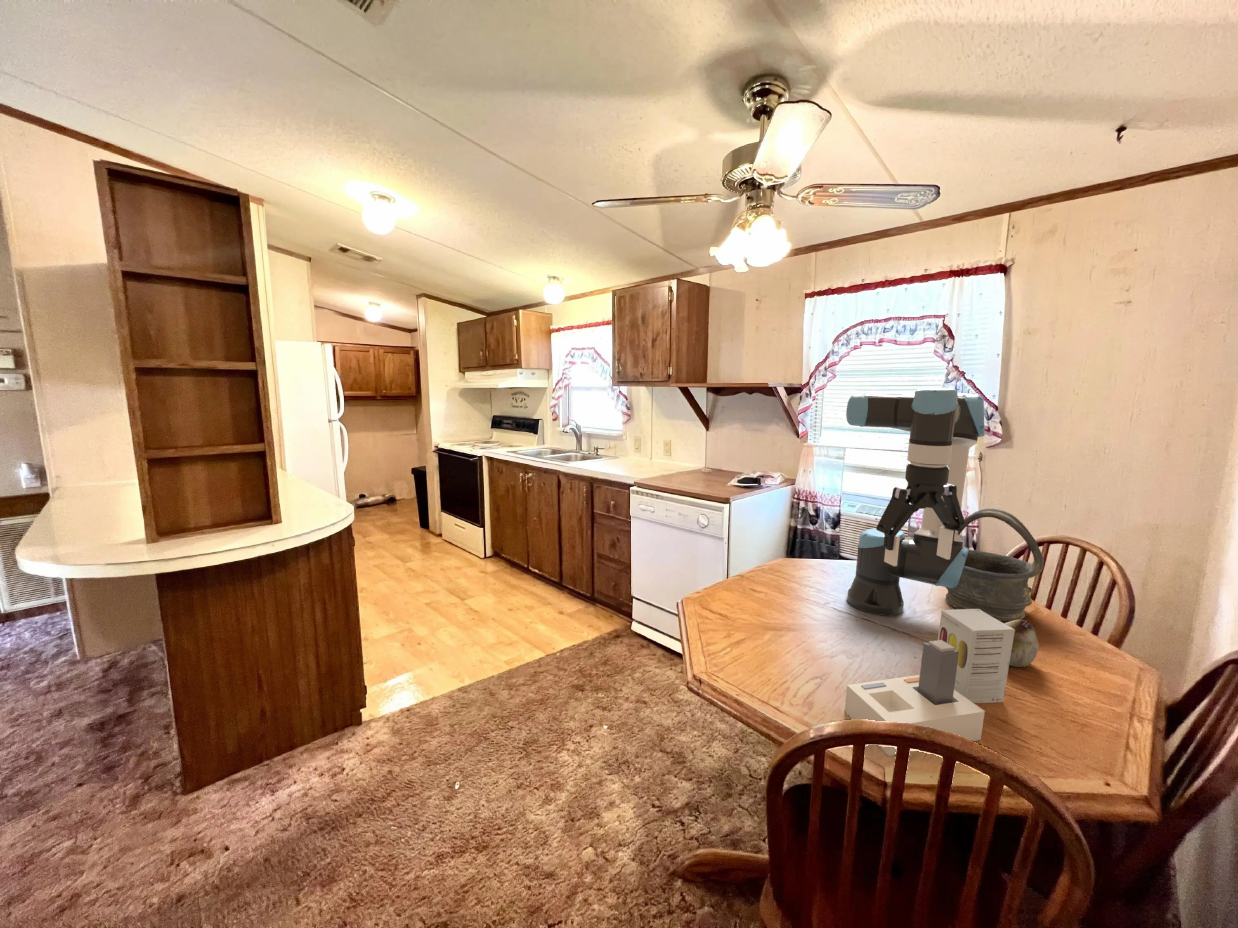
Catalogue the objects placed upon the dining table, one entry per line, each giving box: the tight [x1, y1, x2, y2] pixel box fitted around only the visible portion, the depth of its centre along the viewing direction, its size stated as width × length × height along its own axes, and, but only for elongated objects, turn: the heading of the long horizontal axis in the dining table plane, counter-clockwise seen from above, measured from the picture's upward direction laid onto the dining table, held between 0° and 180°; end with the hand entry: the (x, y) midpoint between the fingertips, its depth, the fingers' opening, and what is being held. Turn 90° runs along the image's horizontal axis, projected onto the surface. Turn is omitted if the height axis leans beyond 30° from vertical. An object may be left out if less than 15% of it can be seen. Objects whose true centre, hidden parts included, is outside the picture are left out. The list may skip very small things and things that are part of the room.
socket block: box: [844, 674, 986, 757], centre depth 93 cm, size 20×12×6 cm, turn 102°
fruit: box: [1003, 619, 1040, 668], centre depth 114 cm, size 10×9×12 cm
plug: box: [918, 639, 959, 705], centre depth 93 cm, size 4×4×14 cm
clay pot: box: [944, 508, 1045, 622], centre depth 141 cm, size 22×23×30 cm
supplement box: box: [937, 608, 1015, 705], centre depth 103 cm, size 10×9×17 cm
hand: (917, 560), depth 103 cm, fingers open, 13 cm apart
